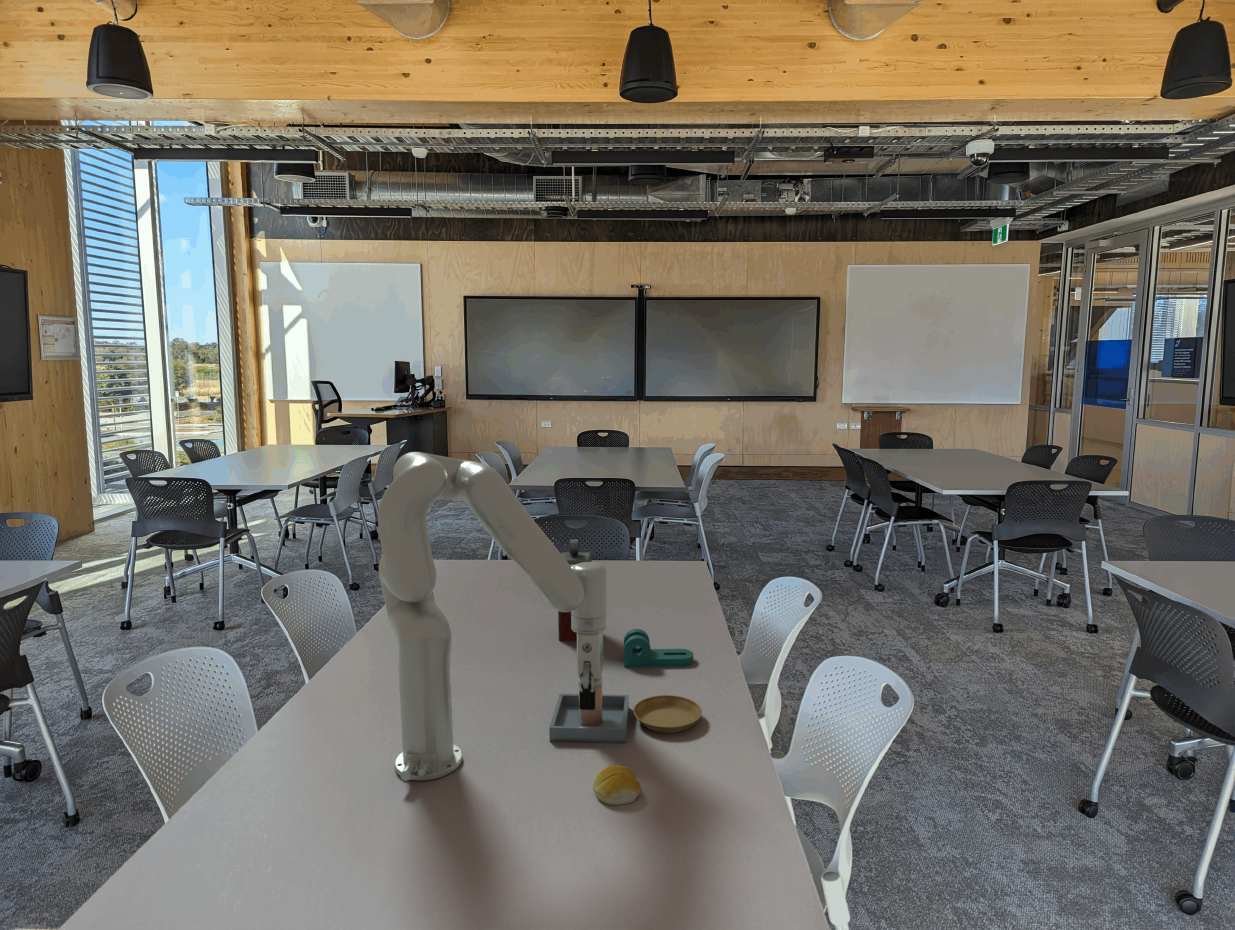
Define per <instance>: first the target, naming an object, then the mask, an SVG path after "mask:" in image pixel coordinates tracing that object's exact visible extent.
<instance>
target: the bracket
mask: <svg viewBox="0 0 1235 930" xmlns="http://www.w3.org/2000/svg"><path fill="white" fill-rule="evenodd" d="M623 664H624V666H623V667H624V668H667V667H668V668H669V667H675V668H677V667H682V668H683V667H688V666H691V665H693V664H694V652H693V651H691V650H689V649H687V648H651V643H650V637H649V635H648V634H647V632H646V631H644V630H643V629H642V628H641V629H640V628H633V629H630V630H628V632H626V634H625V635H624V637H623Z"/></svg>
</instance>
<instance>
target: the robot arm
mask: <svg viewBox="0 0 1235 930" xmlns="http://www.w3.org/2000/svg"><path fill="white" fill-rule="evenodd" d="M392 479H393V481H391V482H390V484H389V486H388V487H387V488H386V490H385V492H384V493H383V495H382V498H381V499H380V503H379V506H378V511H377V526H378V532H379V533H378V534H379V538H380V546H381V547H380V548H381V550H382V551H381V552H382V554H381V556H380V558H379V562H378V576H379V581H380V582H379V583H380V586H381V591H382V596H383V600H384V604H385V609H386V613H387V618H388V622H389V627H391V630H392V632H393V635H394V636H395V639H396V640H397V645H398V688H399V701H400V703H399V704H400V717H401V718H400V719H401V721H400V724H401V725H400V726H401V742H402V743H401V744H402V752H401V753H399V755H398V756H397V757H396V759H395V761H394V769H395V772H396V773H397V775H399V776H400V778H401V780H403V781H405V782H407V781H430V780H435V779H439V778H442V777H444V776H445V777H446V776H447V775H449V774H451V773H452V772H454V771H455V770H457V769H458V767H459V766H460V765H461V763H462V762H463V761H462V760H463V752H462V750H461V748H460V747H458V745H455V744H454V731H453V730H454V729H453V727H454V726H453V725H454V724H453V702H452V683H451V680H452V678H451V651H452V643H453V642H452V630H451V626H450V623H449V620H448V618H447V616H446V615H445V613H444V612H443V611H442V609H441V608H440V607H439V606H438V605H437V603H436V600H435V595H434V590H435V587H436V583H437V569H436V565H435V561H434V558H433V554H432V553H433V552H432V548H431V543H430V539H429V538H430V537H429V531H428V526H427V525H428V524H427V523H428V522H427V517H428V513H429V510H430V508H431V506H432V505H433V504H434V503H435V502H436V501H437V499H443V500H449V501H450V500H451V501H460V502H464V503H465V504H466V505H467V507H468V508H469V509H470V510H471V512H472V513H473V515H474V516H475V517H476V518H477V520H478V521H479V522H480V523H481V525H482V526H483V528H485V530H486V531H487V533H488V534H489V536H490V537H491V538H492V539H493V541H494V542H495V544H496V545H497V546H498V547H499V548H500V550H502V551H503V553H504V554H505V555H506V556H507V557H508V558H510V559H511V560H512V561H513V562H514V563H515V564H517V565H518V566H519V567H520V568H521V569H522V570H523V571H524V572H525V573H526V574H527V575H528V576H529V577H530V579H531V580H530V584H531V588H532V591H533V592H534V593H535V595H536V596H537V597H538V598H540V599H541V600H542V601H543V602H544V603H546V604H548V606H550V607H551V608H553V610H556V611H557V612H558V611H560V612H570V611H571V629H572V630H573V631H574V632H576V633H577V641H576V667H577V668H576V669H577V671H576V672H577V679H578V678H579V679H581V683H580V691H579V690H578V694H579V697H580V709H581V710H594V709H595V691H594V678H595V679H598V680H599V679H601V677H602V678H603V671H604V664H605V662H604V661H605V659H604V634H603V633H604V632H605V631H606V630H607V629H608V582H607V581H608V574H607V572H608V571H607V568H606V566H605V565H604V564H603V563H600V562H595V561H592V562H582V563H578V564H576V565H569V563H568V562H567V561H566V559H565V558H564V557H563V556H562V554H561V553H562V552H560V551H559V550H558V548H557V547H556V546H555V545H554V543H553V542H552V541H551V540H550V539H549V537H548V535H546V533H545V532H544V531H543V529H542V528H541V527H540V526H539V525H538V523H537V522H535V520H534V519H533V517H532V516H531V515H530V513H529V512H528V510H527V509H526V508H525V507H524V505H523V504H522V503H521V501H520V500H519V498H518V497H517V496H516V494H515V493H514V491H513V490H512V488H511V487H510V486H509V484H508V483H507V482H506V480H505V479H504V478H503V476H502V475H501V474H500V473H499V472H498V471H497V470H496V469H495V468H493V467H492V466H489V465H487V464H485V463H481V462H479V461H474V460H466V459H461V458H460V459H459V458H454V457H448V456H445V455H444V456H443V455H437V454H432V453H427V452H421V451H411V452H410V451H409V452H408V453H404V454H403V455H401V456H400V457H399V458H398V459H397V461H396V462H395V463H394V465H393V469H392ZM589 675H592V676H589ZM589 681H591V683H589Z"/></svg>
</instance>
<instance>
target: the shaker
mask: <svg viewBox="0 0 1235 930" xmlns="http://www.w3.org/2000/svg"><path fill="white" fill-rule="evenodd" d="M589 676H592V675H589ZM577 679H578V680H577V681H578V683H577V684H578V692H579V691H580V683H581V679H579V678H578V677H577ZM589 683H591V681H589ZM594 691H595V709H594V710H581V709H580V697H579V723H580V724H581V725H583V726H587V727H594V726H598V725H600V724H601V723H602V721H603V718H602V694H603V676H602V677H601V679H599V680H598V679H595V678H594Z"/></svg>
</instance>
